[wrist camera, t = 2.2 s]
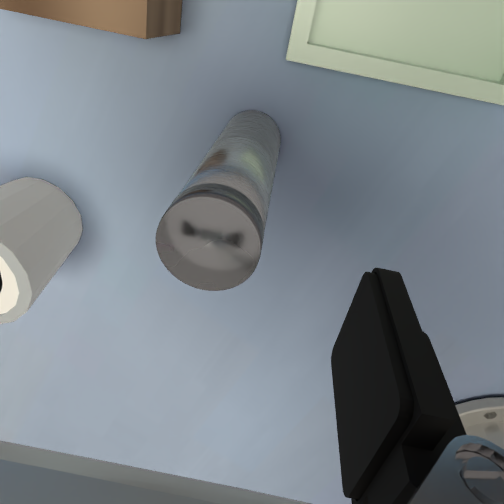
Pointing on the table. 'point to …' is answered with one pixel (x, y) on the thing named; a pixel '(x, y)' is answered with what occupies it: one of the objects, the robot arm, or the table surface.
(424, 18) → the tray
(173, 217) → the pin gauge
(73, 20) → the bore block
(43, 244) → the white cylinder
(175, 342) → the table surface
